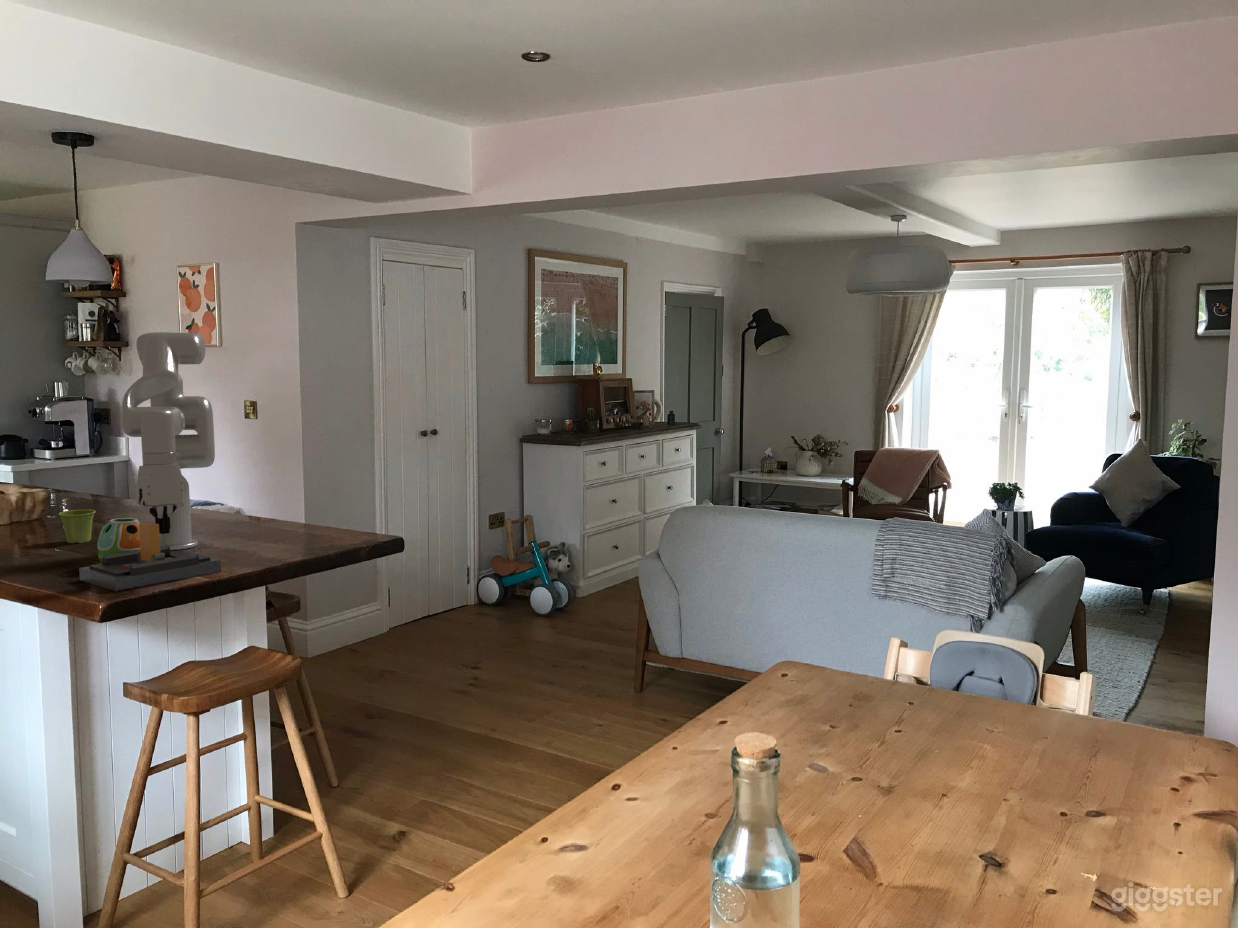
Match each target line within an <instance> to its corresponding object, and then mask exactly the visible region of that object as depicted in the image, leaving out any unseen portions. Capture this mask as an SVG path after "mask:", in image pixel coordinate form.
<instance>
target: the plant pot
mask: <svg viewBox="0 0 1238 928" xmlns="http://www.w3.org/2000/svg"><path fill="white" fill-rule="evenodd" d="M95 513H96V510H94V509H71V510H66V511H65V510H64V511H62V512H61V511H60V512H59V513H58V516H60V520H61V521H62V526H63V530H64V535H65V540H66V543H67V544H75V543H79V544H83V543H88V542H90V541H91V540H92V529H93V521H94V520H93V519H94V517H95Z"/></svg>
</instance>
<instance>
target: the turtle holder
mask: <svg viewBox="0 0 1238 928" xmlns="http://www.w3.org/2000/svg"><path fill="white" fill-rule="evenodd" d="M139 523H141V522H140V521H139V519H137V518H132V517H124V518H123V517H122V518H114V519H113V518H112V519H110V520H109V522H107V523H106V524H104V525H102V526H101V530H100V531H99V536H98V540H97V545H96V546H97V550H98V551H97V552H98V554H97V557H98V559H99V560H100V562H99V563H98V564H102V558H103V556H107V555H113V554H120V553H126V552H132V551H137V550H141V549H140V531H139Z"/></svg>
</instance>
